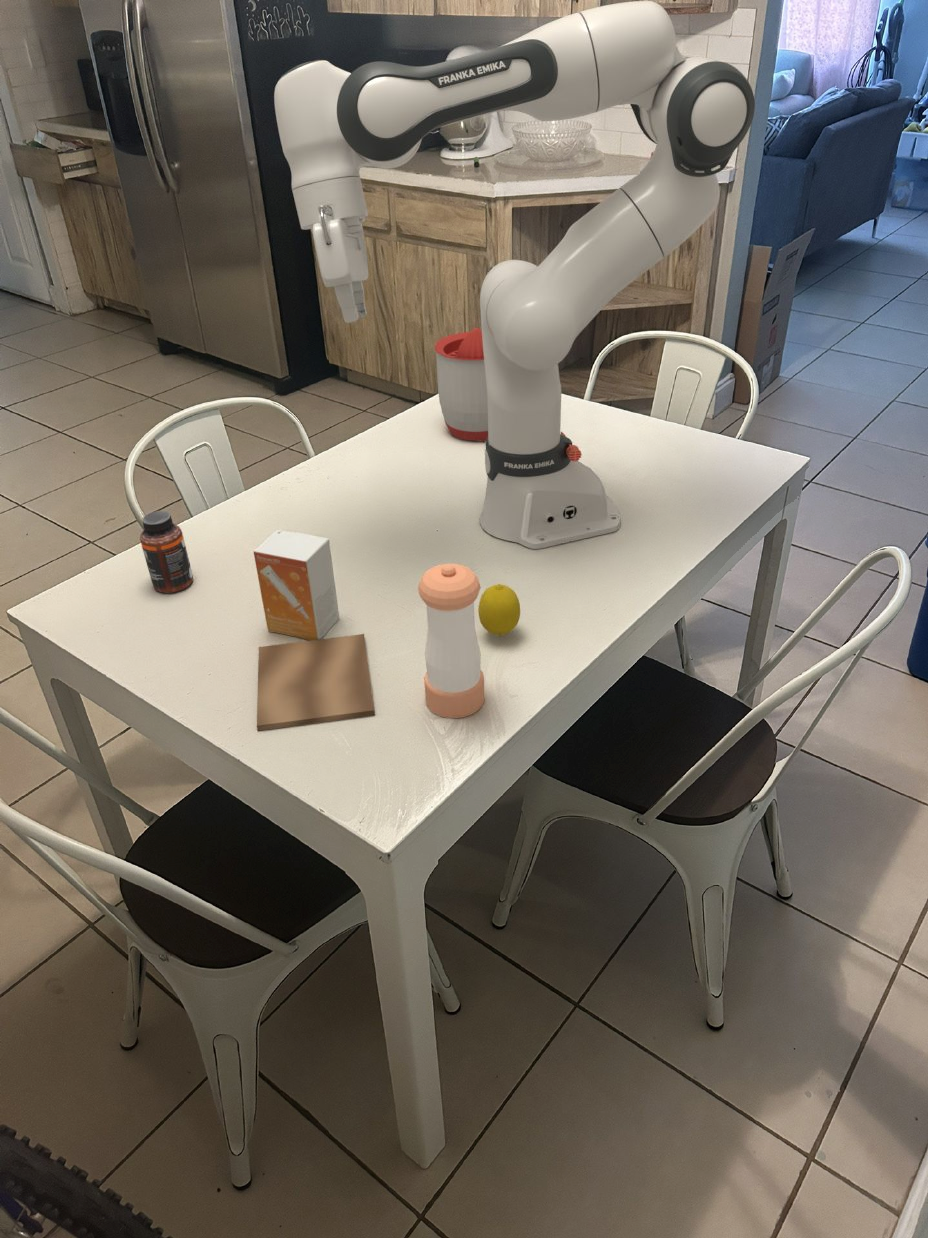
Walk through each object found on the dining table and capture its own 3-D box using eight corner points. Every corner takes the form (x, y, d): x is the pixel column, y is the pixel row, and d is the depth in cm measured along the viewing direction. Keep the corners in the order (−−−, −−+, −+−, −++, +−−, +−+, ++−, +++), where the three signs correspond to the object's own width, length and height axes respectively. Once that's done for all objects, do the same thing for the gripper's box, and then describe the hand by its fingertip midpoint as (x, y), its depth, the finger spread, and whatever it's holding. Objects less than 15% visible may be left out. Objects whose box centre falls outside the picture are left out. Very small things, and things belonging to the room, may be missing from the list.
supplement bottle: (201, 576, 139) (186, 510, 133) (179, 597, 135) (162, 529, 128) (168, 570, 141) (151, 504, 134) (145, 591, 136) (126, 524, 130)
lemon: (516, 649, 121) (516, 598, 117) (475, 645, 123) (473, 594, 118) (523, 625, 126) (523, 575, 121) (483, 621, 127) (481, 572, 122)
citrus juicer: (499, 455, 170) (498, 348, 159) (423, 436, 178) (416, 333, 167) (541, 425, 181) (542, 323, 170) (467, 409, 189) (463, 310, 178)
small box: (267, 632, 127) (251, 550, 119) (290, 607, 131) (276, 527, 124) (319, 643, 124) (306, 560, 117) (341, 618, 129) (330, 536, 121)
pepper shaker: (416, 711, 112) (405, 577, 101) (438, 675, 117) (430, 545, 106) (472, 724, 110) (467, 589, 99) (492, 687, 115) (490, 555, 104)
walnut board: (364, 638, 125) (364, 633, 124) (374, 715, 112) (374, 710, 111) (259, 651, 123) (258, 647, 122) (257, 730, 110) (256, 725, 109)
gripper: (345, 198, 108) (371, 319, 113) (364, 207, 128) (386, 311, 132) (293, 209, 109) (321, 329, 114) (320, 217, 128) (343, 319, 133)
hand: (356, 319), depth 123 cm, fingers open, 8 cm apart
